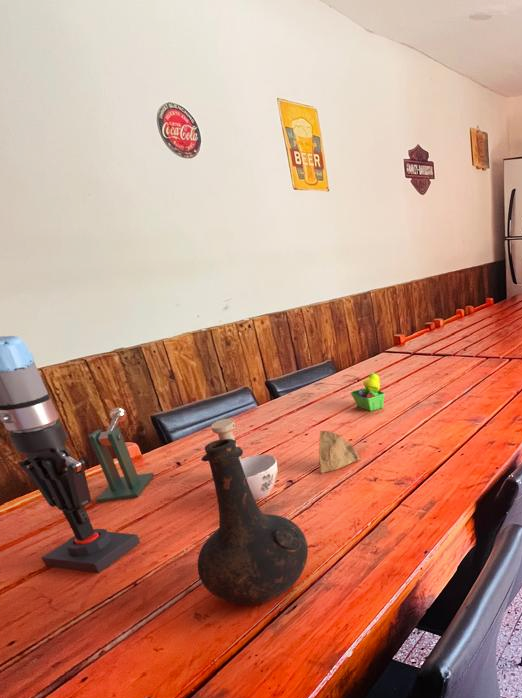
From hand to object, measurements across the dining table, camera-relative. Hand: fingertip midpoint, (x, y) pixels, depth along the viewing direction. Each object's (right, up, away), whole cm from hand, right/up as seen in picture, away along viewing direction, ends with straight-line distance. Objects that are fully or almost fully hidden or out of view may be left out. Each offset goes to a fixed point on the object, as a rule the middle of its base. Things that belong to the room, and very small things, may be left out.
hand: (86, 536), depth 101 cm
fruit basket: (+41, +34, +76) cm, 93 cm away
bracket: (-11, +8, +28) cm, 31 cm away
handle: (+16, +11, +31) cm, 36 cm away
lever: (-13, +22, +26) cm, 37 cm away
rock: (+41, +14, +34) cm, 55 cm away
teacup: (+24, +6, +21) cm, 33 cm away
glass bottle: (+39, -8, -10) cm, 41 cm away
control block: (0, -4, +2) cm, 5 cm away
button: (0, -2, +1) cm, 2 cm away
